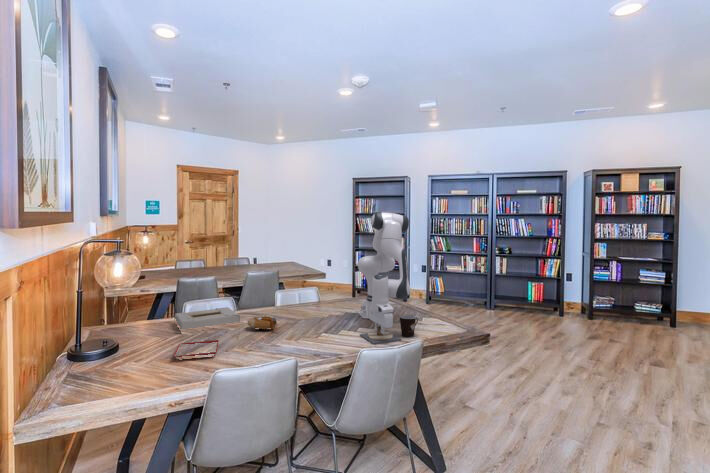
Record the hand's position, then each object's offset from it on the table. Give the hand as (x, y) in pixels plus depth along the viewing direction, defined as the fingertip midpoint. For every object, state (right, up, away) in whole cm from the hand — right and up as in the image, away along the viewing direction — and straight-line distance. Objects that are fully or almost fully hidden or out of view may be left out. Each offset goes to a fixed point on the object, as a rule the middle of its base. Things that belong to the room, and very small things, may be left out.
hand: (380, 332), depth 203 cm
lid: (0, -2, 0) cm, 2 cm away
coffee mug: (+16, -3, +5) cm, 17 cm away
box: (-100, -3, +25) cm, 103 cm away
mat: (0, -3, 0) cm, 3 cm away
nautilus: (-63, -3, +14) cm, 65 cm away
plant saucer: (-86, -5, -23) cm, 89 cm away
